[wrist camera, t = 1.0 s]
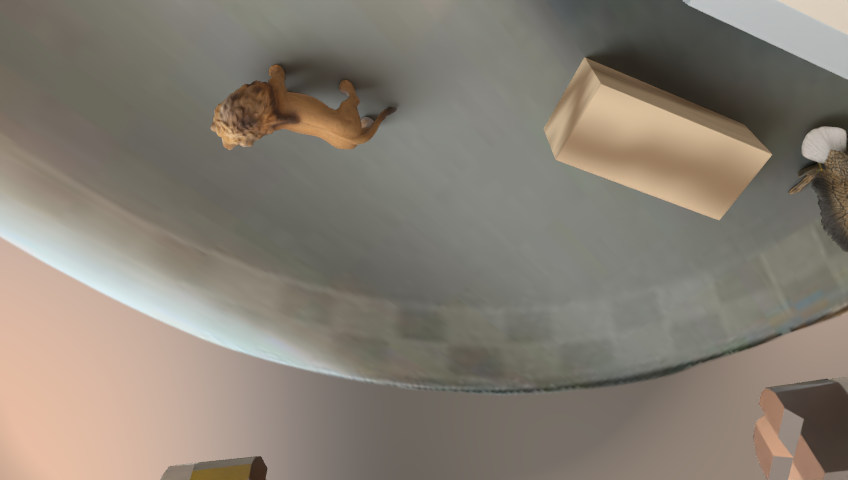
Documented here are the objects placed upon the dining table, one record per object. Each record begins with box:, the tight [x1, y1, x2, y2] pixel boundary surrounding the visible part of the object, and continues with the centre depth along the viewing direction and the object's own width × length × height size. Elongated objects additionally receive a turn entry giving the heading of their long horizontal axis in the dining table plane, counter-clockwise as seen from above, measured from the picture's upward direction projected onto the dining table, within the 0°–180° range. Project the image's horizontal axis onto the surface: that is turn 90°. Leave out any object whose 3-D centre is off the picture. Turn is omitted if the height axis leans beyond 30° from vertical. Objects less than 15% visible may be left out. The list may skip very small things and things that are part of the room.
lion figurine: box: [211, 64, 397, 149], centre depth 45 cm, size 12×4×7 cm, turn 82°
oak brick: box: [544, 57, 772, 220], centre depth 49 cm, size 6×14×5 cm, turn 67°
